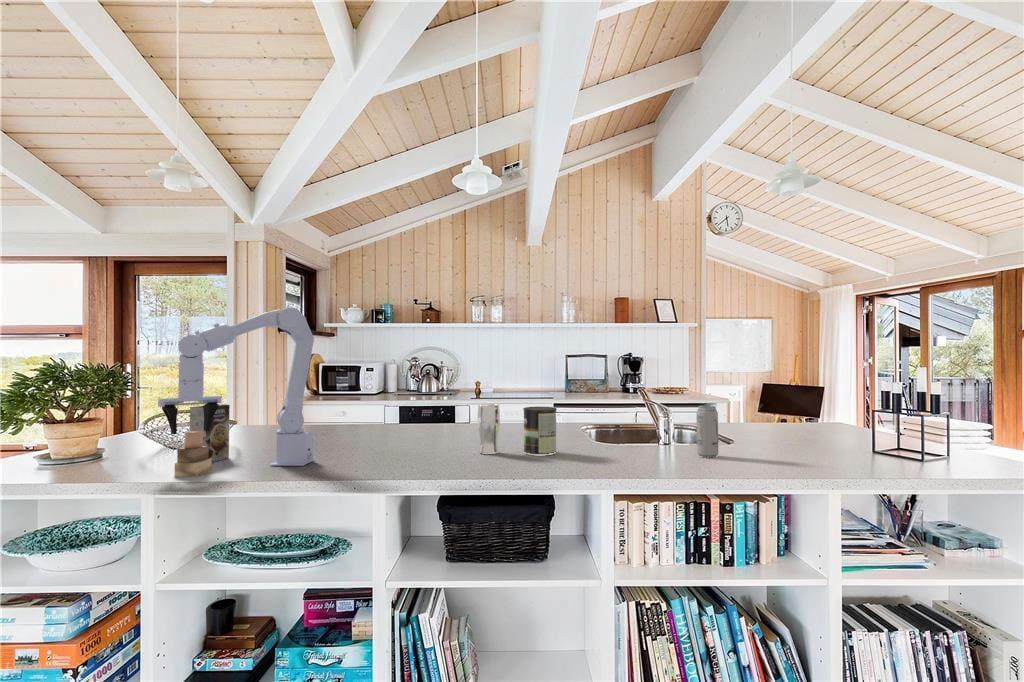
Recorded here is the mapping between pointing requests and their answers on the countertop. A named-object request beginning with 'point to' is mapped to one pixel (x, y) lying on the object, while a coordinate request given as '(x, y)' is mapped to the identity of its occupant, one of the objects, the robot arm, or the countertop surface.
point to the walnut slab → (192, 454)
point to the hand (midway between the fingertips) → (190, 432)
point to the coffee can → (539, 430)
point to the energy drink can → (707, 431)
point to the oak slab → (193, 468)
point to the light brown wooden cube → (193, 439)
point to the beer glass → (488, 427)
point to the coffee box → (213, 431)
